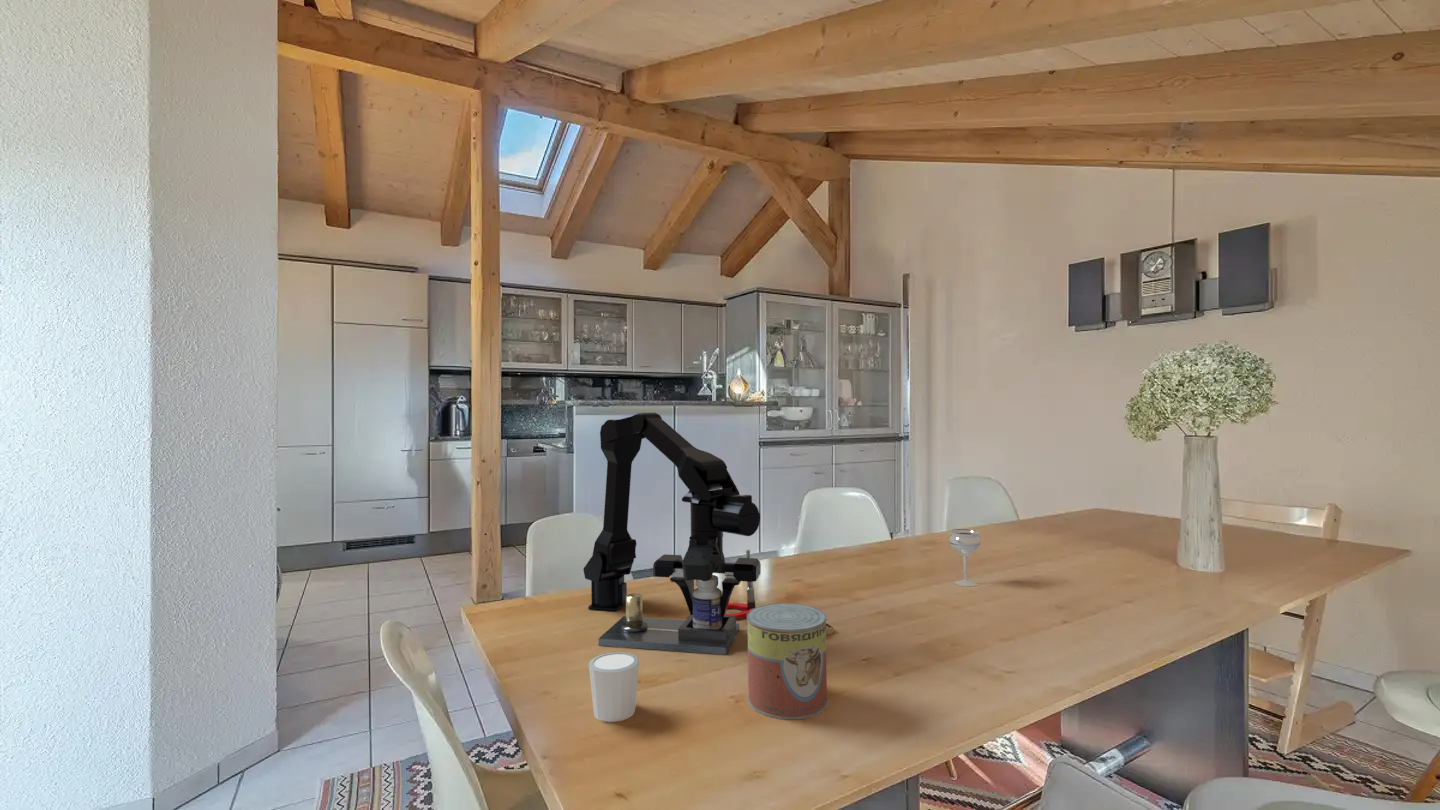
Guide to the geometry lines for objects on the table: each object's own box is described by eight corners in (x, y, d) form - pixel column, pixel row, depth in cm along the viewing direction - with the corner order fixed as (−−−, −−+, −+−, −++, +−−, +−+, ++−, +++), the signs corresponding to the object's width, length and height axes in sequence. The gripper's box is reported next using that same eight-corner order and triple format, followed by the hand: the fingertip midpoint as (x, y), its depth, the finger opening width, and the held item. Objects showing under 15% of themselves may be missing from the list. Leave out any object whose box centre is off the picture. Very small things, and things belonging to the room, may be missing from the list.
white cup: (592, 701, 89) (591, 652, 89) (640, 698, 90) (640, 650, 90) (586, 725, 82) (585, 672, 82) (638, 722, 83) (637, 670, 83)
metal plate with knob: (598, 645, 110) (598, 604, 110) (623, 622, 122) (623, 585, 122) (725, 654, 105) (725, 612, 105) (739, 629, 117) (738, 591, 117)
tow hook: (708, 623, 122) (756, 620, 122) (704, 557, 122) (751, 554, 122) (711, 609, 131) (755, 607, 130) (707, 547, 131) (751, 545, 130)
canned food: (771, 726, 81) (770, 634, 82) (735, 691, 92) (733, 609, 92) (843, 709, 86) (842, 621, 86) (801, 676, 96) (800, 599, 96)
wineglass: (953, 587, 142) (952, 534, 142) (947, 578, 149) (946, 528, 149) (984, 588, 141) (983, 535, 141) (977, 579, 148) (976, 529, 148)
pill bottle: (716, 633, 109) (715, 582, 109) (688, 630, 110) (687, 580, 110) (726, 623, 114) (725, 574, 114) (699, 620, 115) (699, 572, 115)
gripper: (642, 536, 106) (643, 627, 106) (750, 540, 102) (751, 635, 102) (662, 523, 117) (663, 606, 117) (760, 526, 113) (761, 612, 113)
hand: (707, 615), depth 112 cm, fingers closed on pill bottle, 5 cm apart
